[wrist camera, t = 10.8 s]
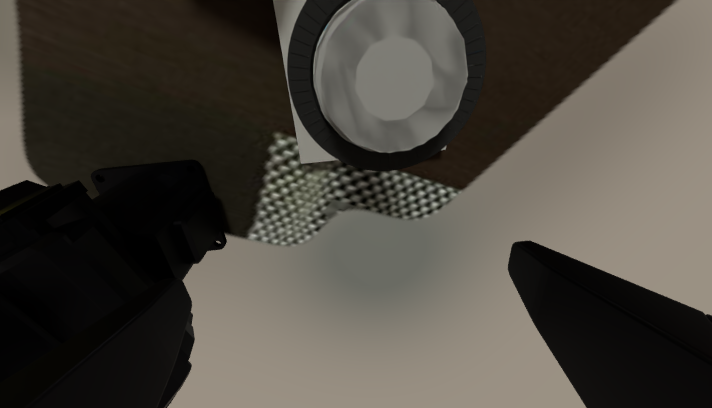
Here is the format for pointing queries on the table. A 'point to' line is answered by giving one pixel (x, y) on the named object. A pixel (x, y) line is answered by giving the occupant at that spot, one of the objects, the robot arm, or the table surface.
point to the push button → (385, 77)
